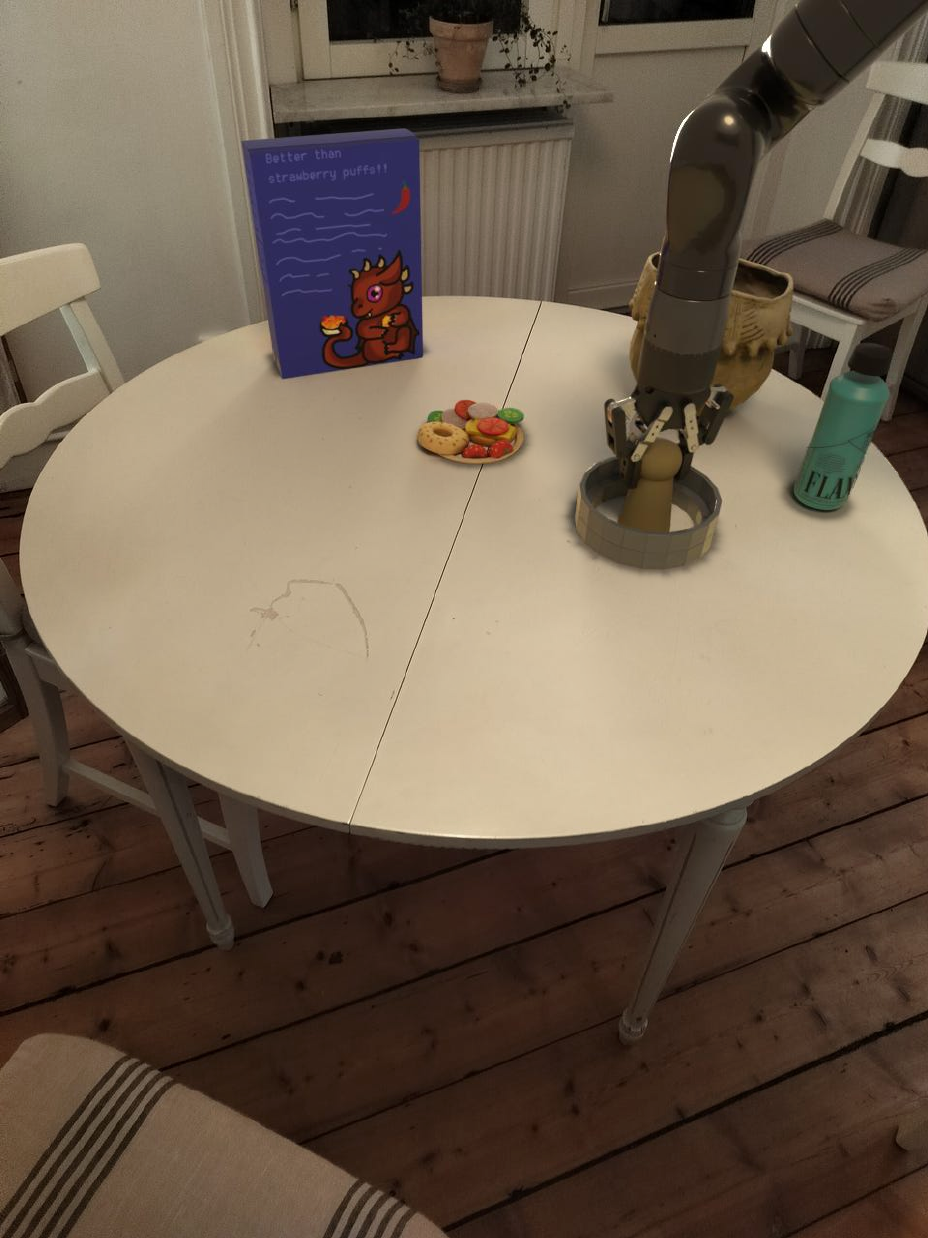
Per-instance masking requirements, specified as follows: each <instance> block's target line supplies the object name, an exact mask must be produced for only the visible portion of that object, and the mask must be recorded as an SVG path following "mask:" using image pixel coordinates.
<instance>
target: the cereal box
mask: <svg viewBox="0 0 928 1238" xmlns="http://www.w3.org/2000/svg"><path fill="white" fill-rule="evenodd" d="M240 142H241V148H242V154H243V155H242V156H243V161H244V168H245V169H244V170H245V174H246V175H245V176H246V181H247V189H248V195H249V201H250V202H249V203H250V208H251V217H252V222H253V229H254V237H255V242H256V248H257V255H258V262H259V270H260V276H261V282H262V288H263V296H264V302H265V310H266V316H267V317H266V318H267V322H268V329H269V336H270V343H271V349H272V356H273V362H274V364H275V366H276V368H277V371H278V373H279V375H280V378H281V379H282V380H285V379H293V378H299V377H305V376H312V375H317V374H325V373H330V372H338V371H344V370H350V369H357V368H363V367H369V366H377V365H382V364H389V363H394V362H402V361H408V360H414V359H415V360H416V359H421V358H423V357H424V330H423V329H424V325H423V321H424V320H423V275H422V274H423V272H422V269H423V268H422V226H421V225H422V215H421V214H422V213H421V210H422V209H421V164H420V163H421V161H420V157H421V156H420V138H418V137H417V135H416V134H415V133H414V132H412V131H411V130H409V129H407V128H406V127H405V128H393V129H392V128H391V129H390V128H389V129H380V130H378V129H377V130H366V131H365V130H364V131H353V132H352V131H351V132H339V133H326V134H312V135H299V136H286V137H275V138H273V137H272V138H260V139H247V140H241V141H240Z"/></svg>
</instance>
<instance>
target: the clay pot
mask: <svg viewBox="0 0 928 1238" xmlns="http://www.w3.org/2000/svg"><path fill="white" fill-rule="evenodd" d="M660 252H661V251H657V252H655V253H652V254H650V255H648V257H647V260H646V262H645V264H644V267H643V269H642V272H641V275H640V278H639V281H638V283H637V286H636V288H635V290H634V294H633V296H632V298H631V299H630V300H629V303H628V307H629V309H630V310H631V318H632V320H633V321H634V322H635V321H636V322H637V323H636V327H635V329H634V331H633V334H632V336H631V340H630V345H629V354H628V356H629V363H630V368H631V372H632V375H633V377H634V379H635V381H636V383H637V370H638V363H639V358H640V352H641V346H642V340H643V334H644V325H645V322H646V317H647V311H648V306H649V302H650V299H651V296H652V293H653V289H654V285H655V280H656V275H657V269H658V263H659V257H660ZM793 293H794V279H793V276H791V274H790V273H787V272H781V271H779V270H776V269H774V268H771V267H769V266H766V265H763V264H759V263H756V262H753V261H750V260H747V259H743V258H741V257H740V259H739V262H738V267H737V271H736V275H735V279H734V284H733V288H732V293H731V299H730V309H729V316H728V321H727V325H726V329H725V333H724V337H723V342H722V346H721V350H720V354H719V358H718V363H717V367H716V371H715V375H714V379H713V382H712V383H711V385H710V387H713V386H714V385H715V384H717V383H720V384H722V385H723V386H724V387H725V388H726V389H728V390H729V391H730V393H731V394H733V396H734V399H733V401H732V404H731V406H730V408H729V410H728V412H729V411H731V410H734V409H735V408H737V407H739V406H740V405H742V404H743V403H745V402H746V401H747V400H748V399H750V398H751V397H752V396H753V395H754V394H755V393H756V392H758V391H759V390H760V388H761V387H762V386H763V384H764V383H765V382H766V381H767V379H768V378H769V377H770V374H771V373H772V371H773V370H772V369H773V366H774V359H775V352H776V350H777V349H778V345H779V346H784V345H785V344H787V343H788V337H792V335H793V333H794V330H793V328H792V326H791V312H792V307H793V297H794V296H793V295H794V294H793ZM704 405H705V404H704ZM704 405H703V406H702V407H701V408H700V410H699V411H698V412H697V413H696V418H697V417H700V414H701V412H702V410H703V408H704Z"/></svg>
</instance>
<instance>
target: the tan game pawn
mask: <svg viewBox="0 0 928 1238" xmlns="http://www.w3.org/2000/svg"><path fill="white" fill-rule="evenodd" d="M676 443H677V442H674V441H672V440H670V439H668V438H666V437H665V438H664V437H658V436H657V437H656V439H655V441H654V443H653V444H649V445H648V447H647V449H646V450H645V452H644V454H643V456H642V458H641V460H642V464H641V469H640V474H639V479H638V484H637V488H635V489H629V491H628V494H627V495H626V497H625V499H624V503H623V506H622V508H621V510H620V514H619V517H618V520H617V523H620V524H622V525H624V526H627V527H631V528H635V529H640V530H644V531H653V532H671V521H672V505H673V504H672V492H673V477H674V475H675V474H676V473H677V472H678V471H679V469H680V466H681V463H682V453H681V450H680V448H679V446H678V445H677V444H676Z"/></svg>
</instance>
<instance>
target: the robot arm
mask: <svg viewBox="0 0 928 1238" xmlns="http://www.w3.org/2000/svg"><path fill="white" fill-rule="evenodd" d="M927 14H928V0H798V1H797V2H796V4H795V5H793V6H792V7H791V9H790V10H789V11H788V12H787V13H786V14H785V15H784V16H783V18H782V19H781V20H780V21H779V23H777V25H776V26H775V27H774V28H773V30H772V31H771V33H770V34H769V36H768V38H767V39H766V40H765V41H764V42H762V43H761V45H759V46H758V47H757V48H756V49H755V50H754V51H753V52H752V53H750V54H749V55H748V56H747V57H746V58H745V59H744V60H743V61H742V62H741V63H739V65H738V66H737V67H736V68H735V69H734V70H732V71H731V72H730V73H729V74H728V75H727V76H726V77H725V78H724V79H723V80H722V81H721V82H720V83H719V84H718V85H717V86H716V87H714V88H713V89H712V90H711V91H710V92H709V93H708V95H706V97H705V98H703V99H702V100H701V101H700V102H699V103H698V104H697V106H696V107H695V108H694V109H693V110H692V111H691V112H690V113H689V114H687V116H686V117H685V119H683V121H682V123H681V125H680V127H679V129H678V131H677V133H676V136H675V139H674V142H673V145H672V151H671V155H670V161H669V166H668V167H669V168H668V175H667V187H666V201H665V203H666V204H665V231H664V235H663V239H662V243H661V249H660V251H659V252H660V257H659V263H658V269H657V275H656V280H655V285H654V289H653V293H652V296H651V299H650V302H649V306H648V311H647V317H646V322H645V325H644V334H643V340H642V346H641V352H640V358H639V363H638V370H637V382H636V385H635V387H634V389H633V391H632V392H631V393H630V397H627V398H624V399H622V400H619V401H616V400H615V399H614V398H608V399H606V400H605V402H604V404H603V409H604V422H605V433H606V445H607V447H608V448H609V450H611V452H612V453H613V454H614V456H616V457H617V458H618V459H622V462H621V467H620V473H619V476H620V479H621V480H622V481H623V482H624V484H625V485H626V486H627V487H628V488H629V489H635V488H637V484H638V479H639V474H640V469H641V464H642V460H641V458H642V456H643V454H644V452H645V450H646V449H647V447H648V445H649V444H653V443H654V441H655V439H656V437H657V438H658V435H660V433H663V432H666V431H668V430H674V431H675V430H676V436H677V440H678V442H675V443H676V444H677V445H678V446H679V448H680V450H681V453H682V463H681V466H680V469H679V471H678V472H677V473H676V474H675V475H674V477H673V478H674V479H675V480H676V481H683V480H684V479H685V475H688V473H689V471H690V468H691V466H692V463H693V459H694V455H695V452H696V451H698V450H699V448H700V446H702V445H706V446H711V445H712V444H713V443H714V442H715V441H716V438H717V437H718V433H719V432H720V429H721V427H722V425H723V423H724V420H725V419H726V416H727V414H728V412H729V411H730V410H729V408H730V406H731V404H732V401H733V399H734V396H733V394H731V393H730V391H729V390H728V389H726V388H725V387H724V386H723V385H722V384H720V383H717V384H715V385H714V386H713V387H710V385H711V383H712V382H713V379H714V375H715V371H716V367H717V363H718V358H719V354H720V350H721V346H722V342H723V337H724V333H725V329H726V325H727V321H728V316H729V309H730V299H731V293H732V288H733V284H734V279H735V275H736V271H737V267H738V262H739V259H740V258H741V253H742V249H743V247H742V246H743V230H742V226H743V222H744V219H745V215H746V211H747V207H748V203H749V199H750V195H751V192H752V188H753V184H754V181H755V177H756V174H757V170H758V167H759V165H760V162H761V161H762V160H763V159H764V158H765V157H766V156H767V155H768V154H769V153H770V152H771V151H772V150H773V149H774V148H775V147H776V146H777V145H778V144H779V143H780V142H781V141H782V140H783V139H784V138H785V137H786V136H787V135H788V134H789V133H790V132H792V130H793V129H794V128H795V127H797V126H798V125H799V124H800V123H801V122H802V121H803V120H804V119H805V118H806V117H807V116H808V115H809V114H810V113H811V112H812V111H813V110H814V109H816V108H819V107H821V106H824V105H825V104H827V103H829V102H830V101H831V100H832V99H834V98H835V97H836V96H838V95H839V94H840V93H842V91H844V90H845V89H846V88H847V87H849V86H850V85H851V83H852V82H854V81H855V80H857V78H858V77H860V76H861V75H862V74H863V73H864V72H865V71H866V70H868V69H869V68H870V66H872V65H873V64H874V63H875V62H876V61H877V60H878V59H879V58H881V56H882V55H883V54H885V52H887V51H888V50H889V49H890V48H891V47H892V46H893V45H894V44H896V43H897V42H898V41H899V40H900V39H901V38H902V37H903V36H904V35H906V34H907V33H908V32H909V31H910V30H911V29H912V28H913V27H914V26H915V25H916V24H917V23H918V22H919V21H921V19H922V18H923V17H925V16H926V15H927ZM704 404H705V405H704ZM703 405H704V408H703V410H702V412H701V414H700V416H698V419H697V417H696V413H697V412H698V411H699V410H700V408H701V407H702V406H703ZM728 410H729V411H728ZM633 411H635V414H634V415H633V417H632V420H631V422H630V418H631V414H632V412H633ZM627 424H629V427H628V428H629V431H628V433H627ZM645 427H646V428H645Z"/></svg>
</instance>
